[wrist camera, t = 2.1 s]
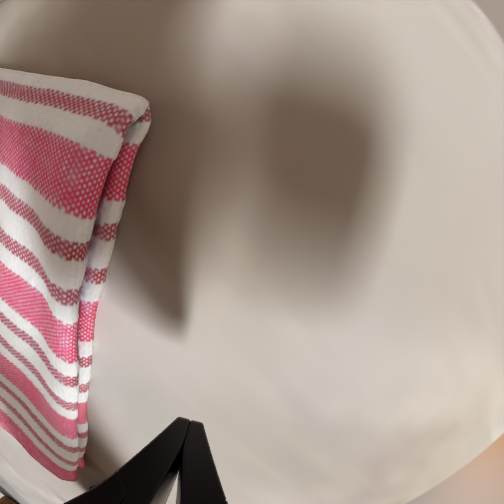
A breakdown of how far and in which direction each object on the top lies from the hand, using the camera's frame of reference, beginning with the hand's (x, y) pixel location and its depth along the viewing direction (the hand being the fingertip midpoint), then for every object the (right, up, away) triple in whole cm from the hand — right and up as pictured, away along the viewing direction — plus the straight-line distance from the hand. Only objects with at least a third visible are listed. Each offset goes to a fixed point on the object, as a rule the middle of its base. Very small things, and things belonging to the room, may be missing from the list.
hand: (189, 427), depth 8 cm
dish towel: (-13, +4, +3) cm, 14 cm away
